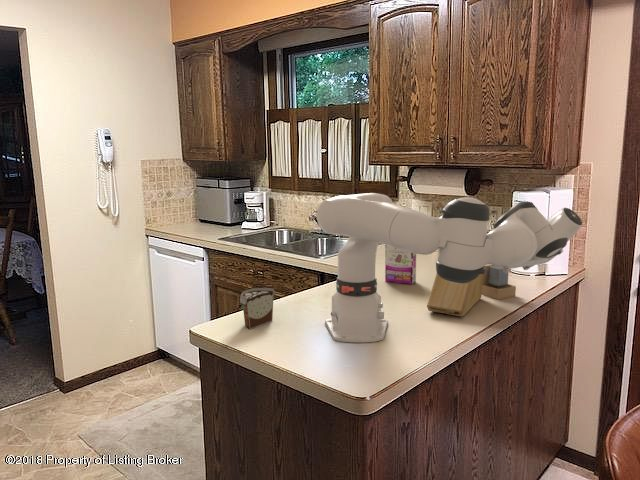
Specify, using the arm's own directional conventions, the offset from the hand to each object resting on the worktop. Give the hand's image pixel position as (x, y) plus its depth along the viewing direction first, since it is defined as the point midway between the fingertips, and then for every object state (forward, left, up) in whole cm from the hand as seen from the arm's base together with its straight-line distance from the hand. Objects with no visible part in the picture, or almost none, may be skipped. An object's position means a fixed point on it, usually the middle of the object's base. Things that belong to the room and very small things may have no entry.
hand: (514, 269), depth 180 cm
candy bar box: (+23, +36, -11) cm, 44 cm away
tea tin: (+5, +4, -10) cm, 12 cm away
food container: (-24, +86, -11) cm, 90 cm away
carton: (+5, +4, -10) cm, 12 cm away
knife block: (-4, +19, -11) cm, 22 cm away
